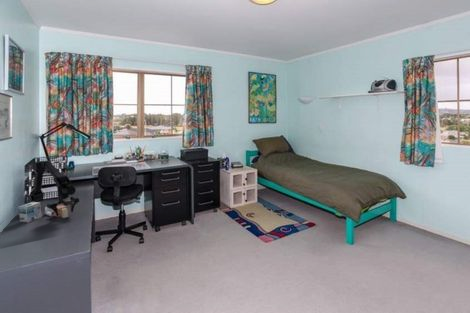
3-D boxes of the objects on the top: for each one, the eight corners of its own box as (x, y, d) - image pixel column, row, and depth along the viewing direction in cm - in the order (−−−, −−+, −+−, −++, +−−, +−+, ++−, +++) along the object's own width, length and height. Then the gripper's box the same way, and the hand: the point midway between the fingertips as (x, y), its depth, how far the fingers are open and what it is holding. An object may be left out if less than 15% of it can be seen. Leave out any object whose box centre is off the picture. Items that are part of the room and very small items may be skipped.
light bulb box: (28, 222, 178) (26, 207, 176) (19, 221, 179) (17, 206, 177) (42, 216, 188) (40, 202, 186) (34, 216, 189) (32, 201, 188)
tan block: (45, 213, 193) (44, 207, 192) (61, 209, 202) (60, 203, 201) (50, 216, 189) (49, 209, 188) (65, 211, 198) (65, 205, 197)
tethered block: (54, 215, 190) (53, 207, 189) (63, 213, 195) (62, 205, 194) (61, 218, 184) (60, 210, 183) (70, 216, 189) (69, 208, 188)
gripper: (52, 198, 172) (55, 221, 175) (82, 191, 188) (84, 212, 190) (45, 195, 179) (47, 217, 181) (74, 189, 194) (76, 209, 196)
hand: (64, 214), depth 187 cm, fingers open, 9 cm apart
